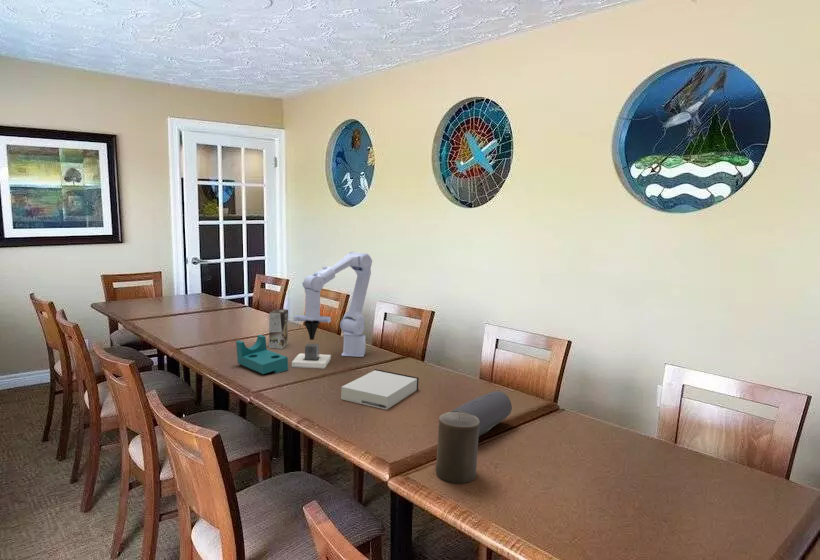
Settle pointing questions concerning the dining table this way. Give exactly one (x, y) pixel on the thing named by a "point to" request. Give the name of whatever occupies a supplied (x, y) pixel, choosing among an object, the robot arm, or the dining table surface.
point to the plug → (312, 352)
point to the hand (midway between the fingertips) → (312, 339)
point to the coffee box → (278, 328)
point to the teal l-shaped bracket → (260, 357)
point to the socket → (303, 363)
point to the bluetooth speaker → (487, 409)
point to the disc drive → (379, 389)
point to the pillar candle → (457, 447)
